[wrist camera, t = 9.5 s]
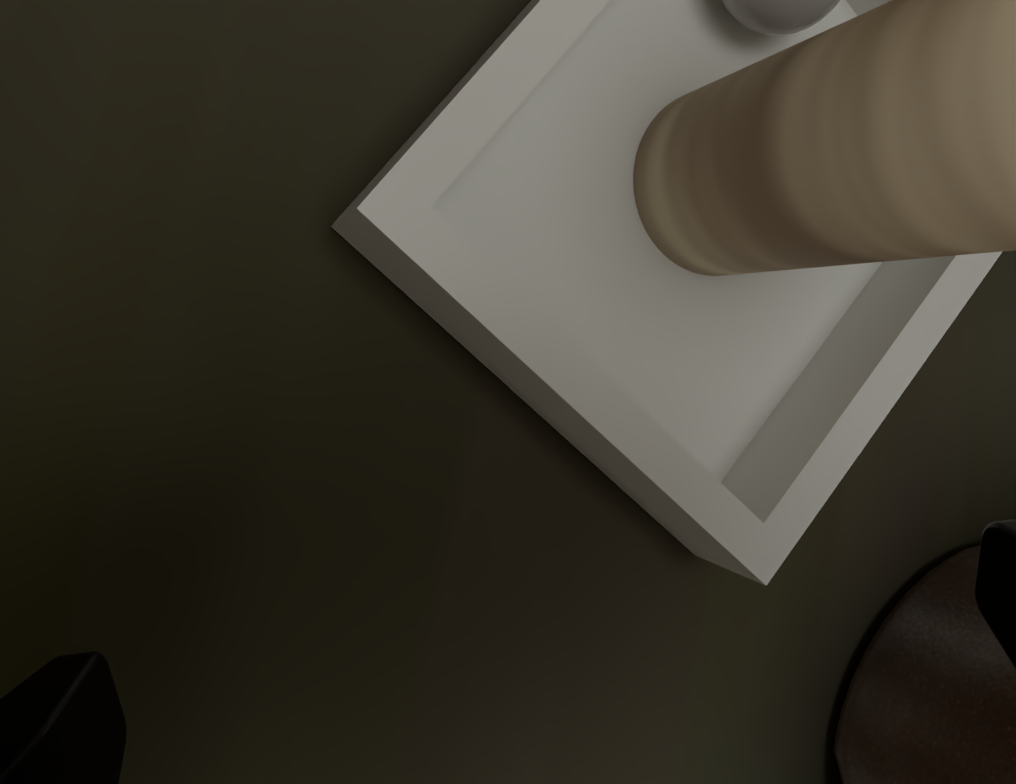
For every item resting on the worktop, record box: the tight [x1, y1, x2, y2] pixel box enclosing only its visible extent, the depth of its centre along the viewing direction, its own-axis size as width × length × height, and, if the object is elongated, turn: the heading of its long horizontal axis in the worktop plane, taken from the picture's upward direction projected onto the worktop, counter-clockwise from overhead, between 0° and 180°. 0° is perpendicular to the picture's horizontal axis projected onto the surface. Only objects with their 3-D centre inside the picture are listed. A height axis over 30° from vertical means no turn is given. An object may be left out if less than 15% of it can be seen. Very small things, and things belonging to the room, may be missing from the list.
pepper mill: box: [633, 0, 1016, 276], centre depth 15 cm, size 4×4×14 cm
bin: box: [331, 0, 1003, 586], centre depth 21 cm, size 14×12×3 cm
